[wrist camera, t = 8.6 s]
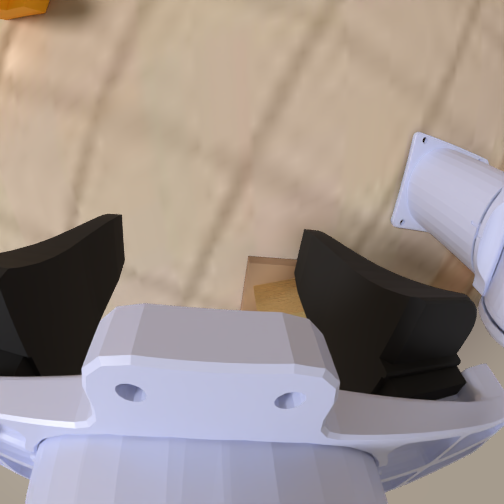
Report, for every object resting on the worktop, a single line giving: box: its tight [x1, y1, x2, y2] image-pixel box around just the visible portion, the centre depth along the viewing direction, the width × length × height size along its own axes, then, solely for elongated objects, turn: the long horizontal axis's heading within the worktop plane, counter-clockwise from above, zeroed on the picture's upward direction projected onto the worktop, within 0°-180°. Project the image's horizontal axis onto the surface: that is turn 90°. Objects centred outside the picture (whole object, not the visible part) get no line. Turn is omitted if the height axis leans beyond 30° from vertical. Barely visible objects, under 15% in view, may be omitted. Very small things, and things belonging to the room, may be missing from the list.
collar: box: [253, 278, 306, 318], centre depth 23 cm, size 6×6×4 cm
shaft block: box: [240, 256, 297, 311], centre depth 24 cm, size 8×8×4 cm
